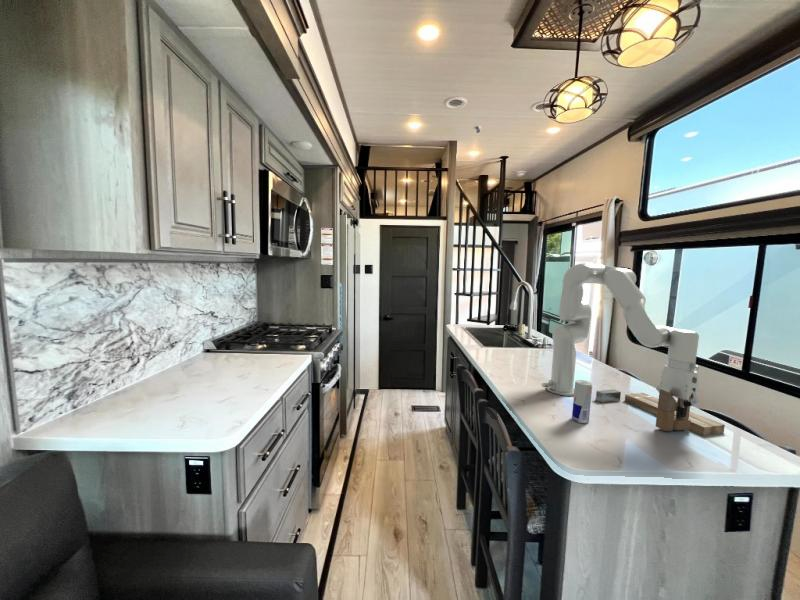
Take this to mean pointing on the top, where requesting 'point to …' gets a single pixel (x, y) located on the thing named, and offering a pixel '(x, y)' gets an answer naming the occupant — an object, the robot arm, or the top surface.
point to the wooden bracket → (670, 413)
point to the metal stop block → (608, 395)
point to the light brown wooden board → (697, 421)
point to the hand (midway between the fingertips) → (674, 413)
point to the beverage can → (582, 401)
